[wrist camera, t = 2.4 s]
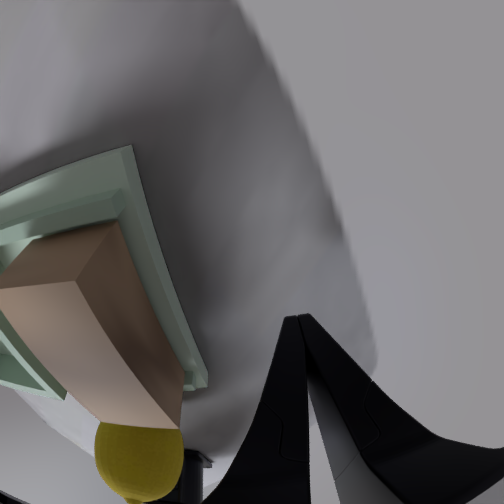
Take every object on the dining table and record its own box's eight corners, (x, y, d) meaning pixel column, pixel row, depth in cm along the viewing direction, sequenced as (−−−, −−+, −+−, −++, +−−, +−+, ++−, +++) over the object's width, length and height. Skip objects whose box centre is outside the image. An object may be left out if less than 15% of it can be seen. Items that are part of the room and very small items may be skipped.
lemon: (161, 372, 14) (144, 505, 8) (200, 412, 17) (198, 515, 11) (93, 377, 15) (66, 484, 8) (137, 415, 18) (125, 505, 11)
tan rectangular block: (184, 373, 12) (179, 428, 10) (113, 372, 12) (100, 421, 10) (117, 220, 8) (75, 281, 5) (32, 239, 8) (-12, 290, 5)
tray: (208, 372, 14) (205, 423, 12) (11, 361, 15) (-3, 391, 12) (131, 144, 8) (85, 174, 5) (-68, 232, 8) (-95, 259, 6)
